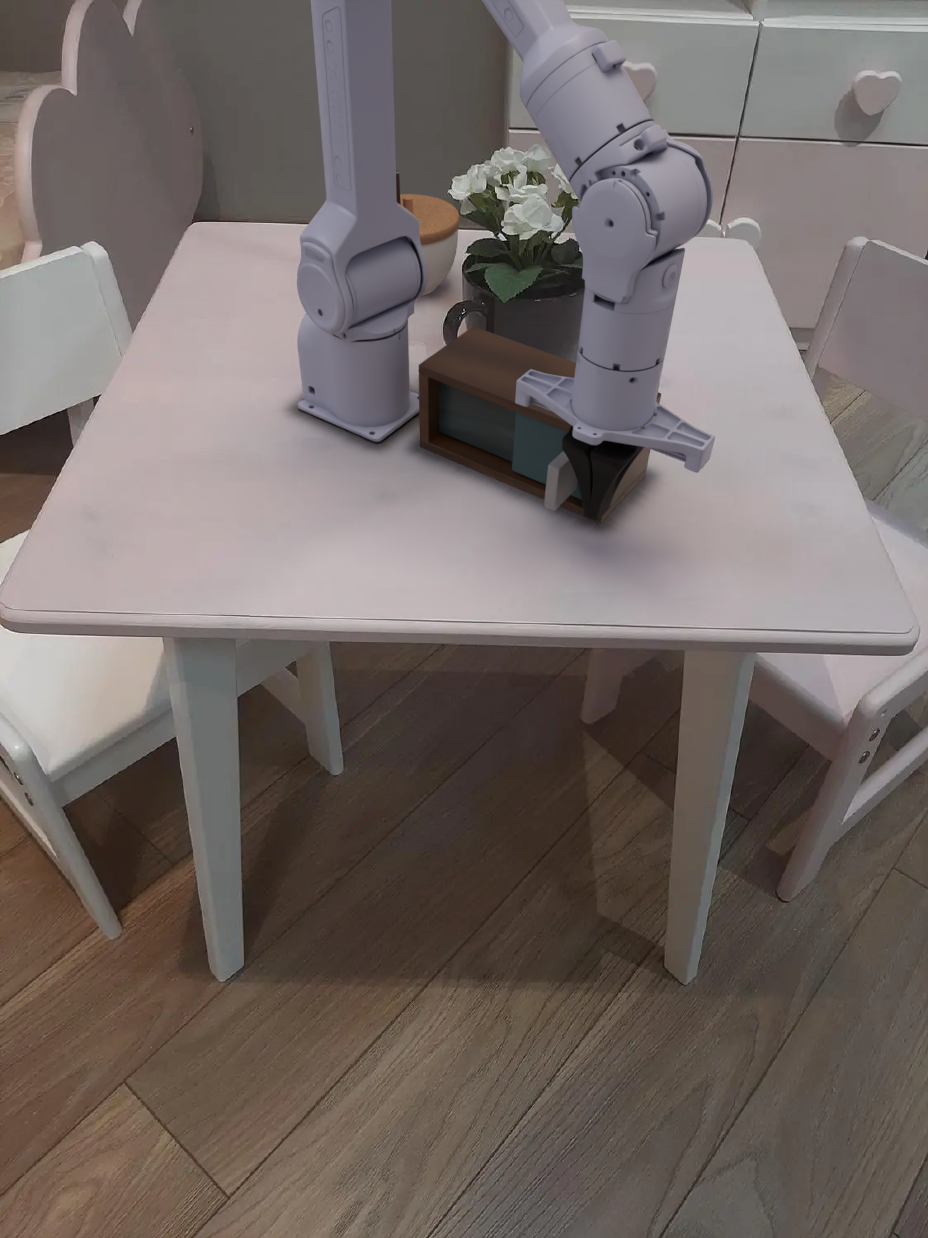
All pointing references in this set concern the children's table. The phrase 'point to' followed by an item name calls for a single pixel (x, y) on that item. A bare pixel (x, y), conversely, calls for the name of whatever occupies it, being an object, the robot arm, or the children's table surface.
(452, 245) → the white lidded jar
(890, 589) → the children's table surface
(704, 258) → the children's table surface
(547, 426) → the glass door
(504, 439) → the cabinet
